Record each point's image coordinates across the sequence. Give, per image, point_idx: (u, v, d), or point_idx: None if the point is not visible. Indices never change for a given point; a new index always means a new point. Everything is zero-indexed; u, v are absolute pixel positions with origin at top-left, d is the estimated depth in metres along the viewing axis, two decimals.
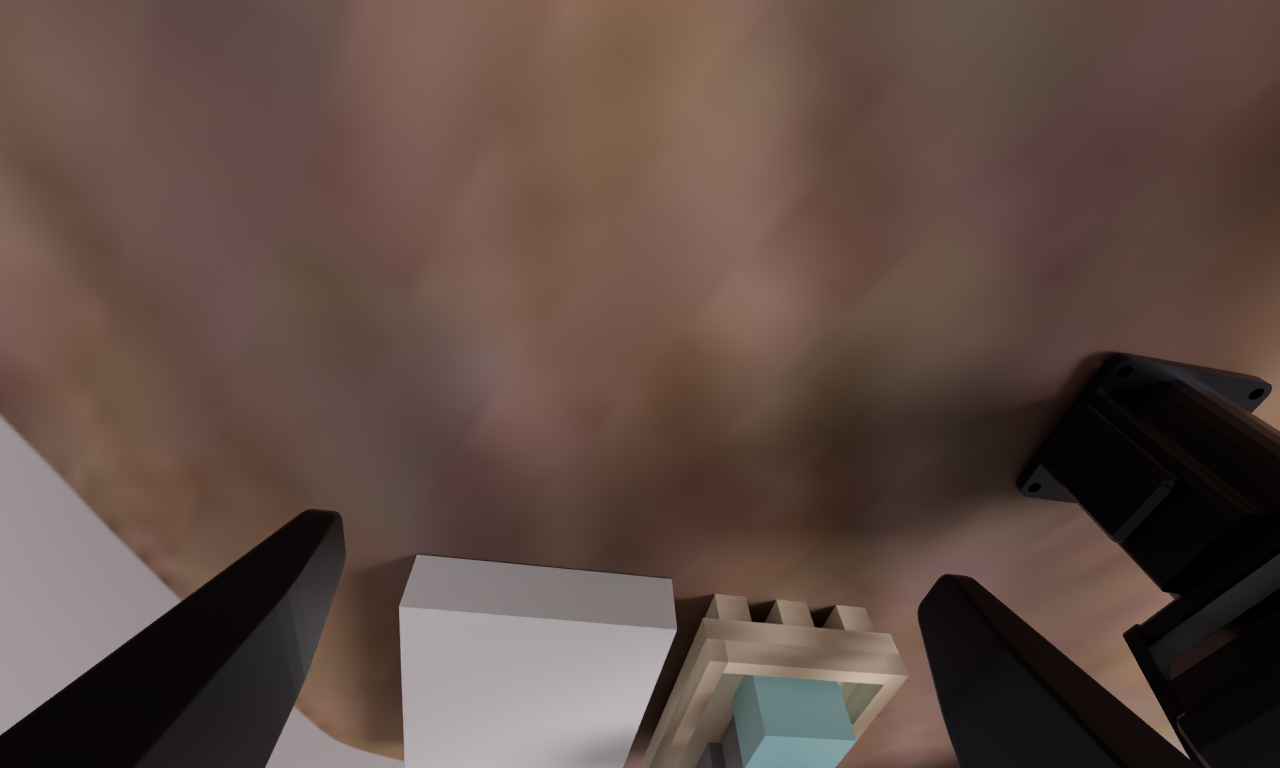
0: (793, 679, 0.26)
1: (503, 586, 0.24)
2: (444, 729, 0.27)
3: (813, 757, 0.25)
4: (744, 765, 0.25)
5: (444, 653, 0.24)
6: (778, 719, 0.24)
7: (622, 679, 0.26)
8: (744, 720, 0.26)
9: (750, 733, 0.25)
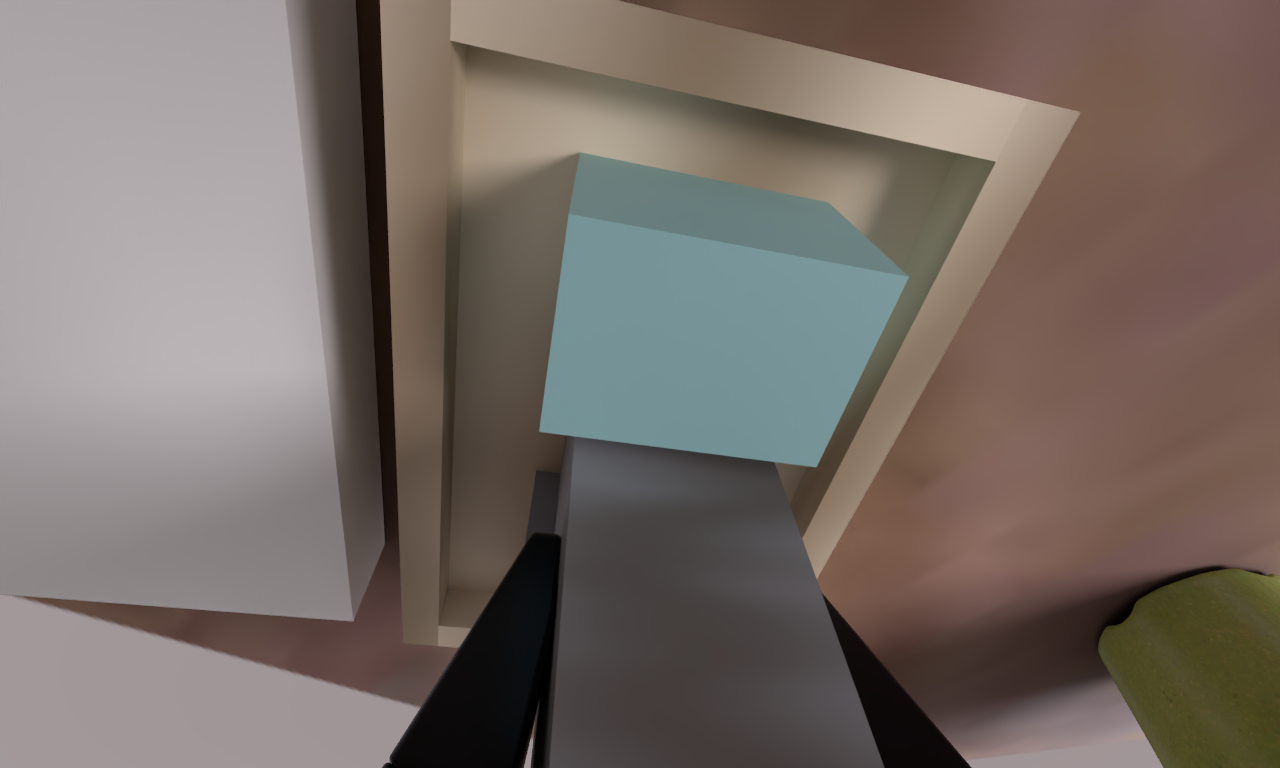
0: (706, 185, 0.09)
1: None
2: None
3: (762, 372, 0.07)
4: (541, 416, 0.08)
5: None
6: (632, 207, 0.07)
7: (191, 158, 0.08)
8: None
9: None
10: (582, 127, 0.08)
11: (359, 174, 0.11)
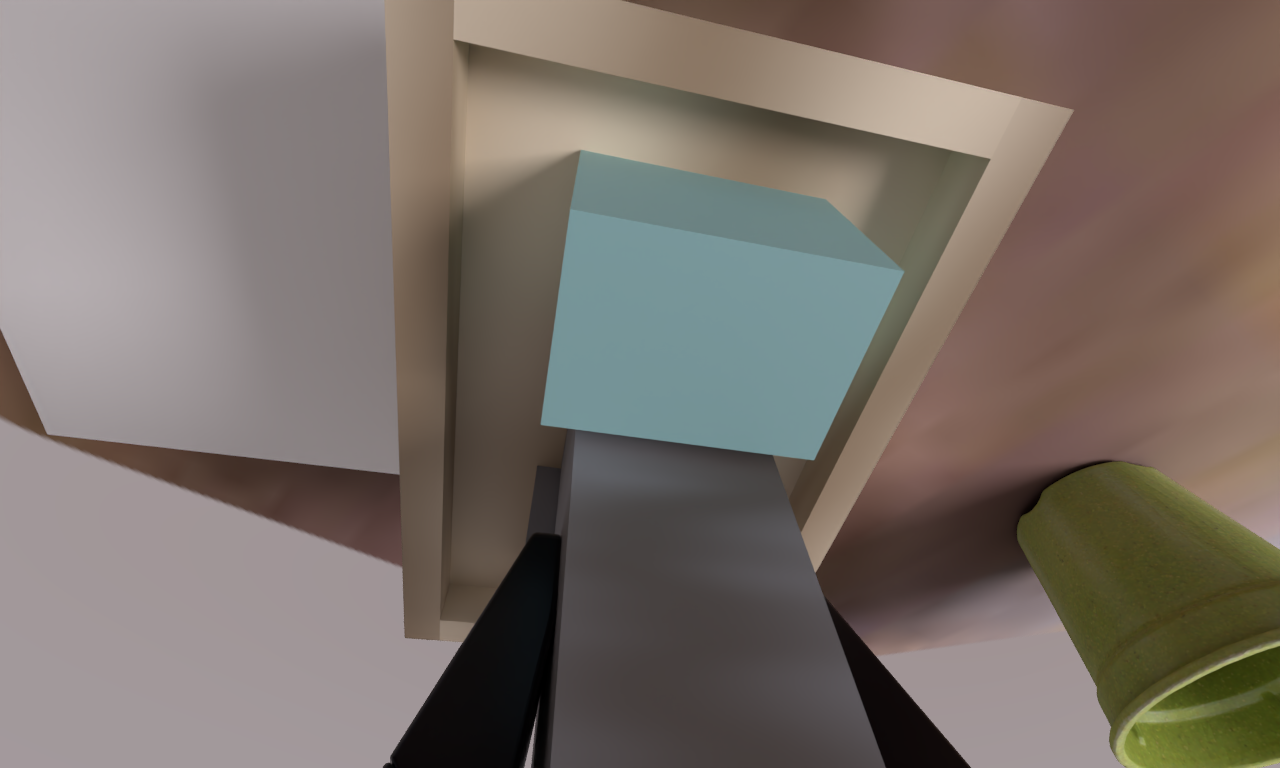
0: (705, 182, 0.09)
1: None
2: (51, 267, 0.15)
3: (760, 365, 0.08)
4: None
5: None
6: (633, 203, 0.07)
7: (352, 108, 0.13)
8: None
9: None
10: (583, 125, 0.09)
11: None
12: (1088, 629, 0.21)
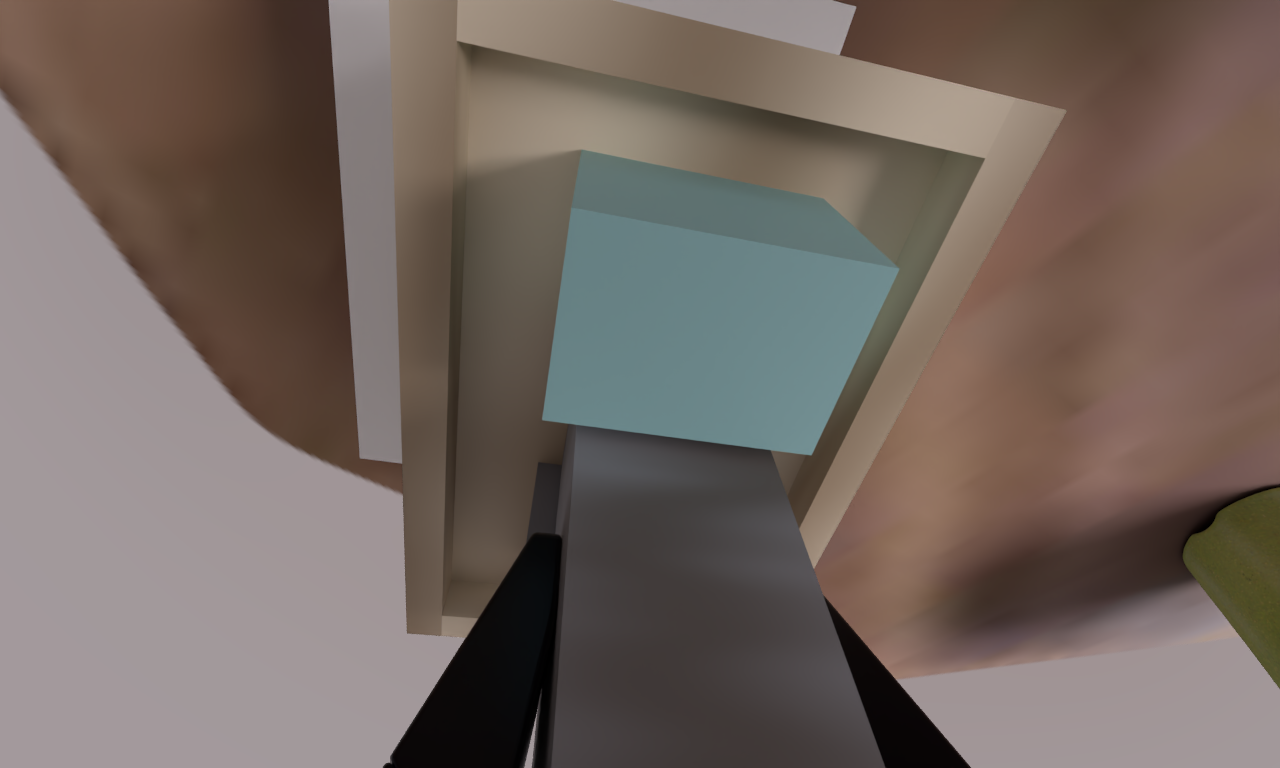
0: (704, 182, 0.09)
1: None
2: None
3: (758, 362, 0.08)
4: (544, 405, 0.08)
5: None
6: (633, 202, 0.07)
7: None
8: None
9: None
10: (584, 125, 0.09)
11: None
12: None
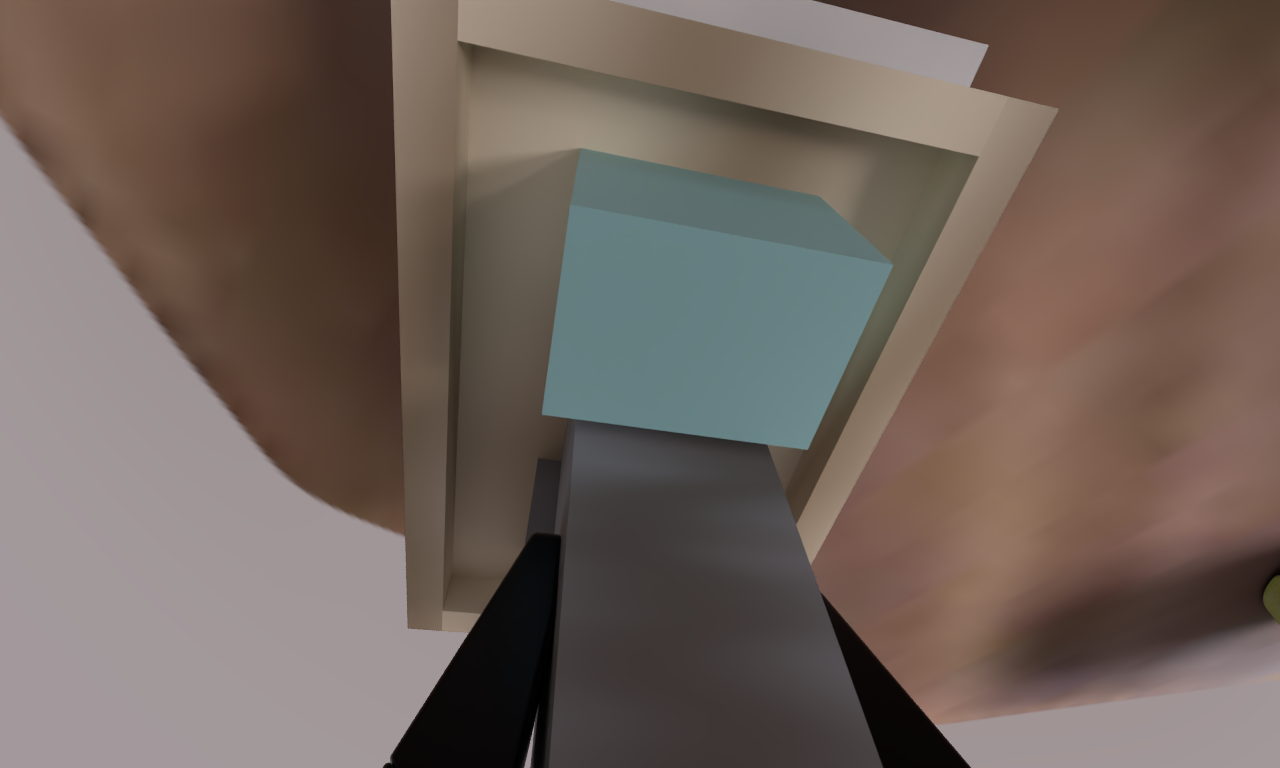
0: (701, 180, 0.09)
1: None
2: None
3: (755, 357, 0.08)
4: None
5: None
6: (631, 199, 0.07)
7: None
8: None
9: None
10: (583, 123, 0.09)
11: None
12: None
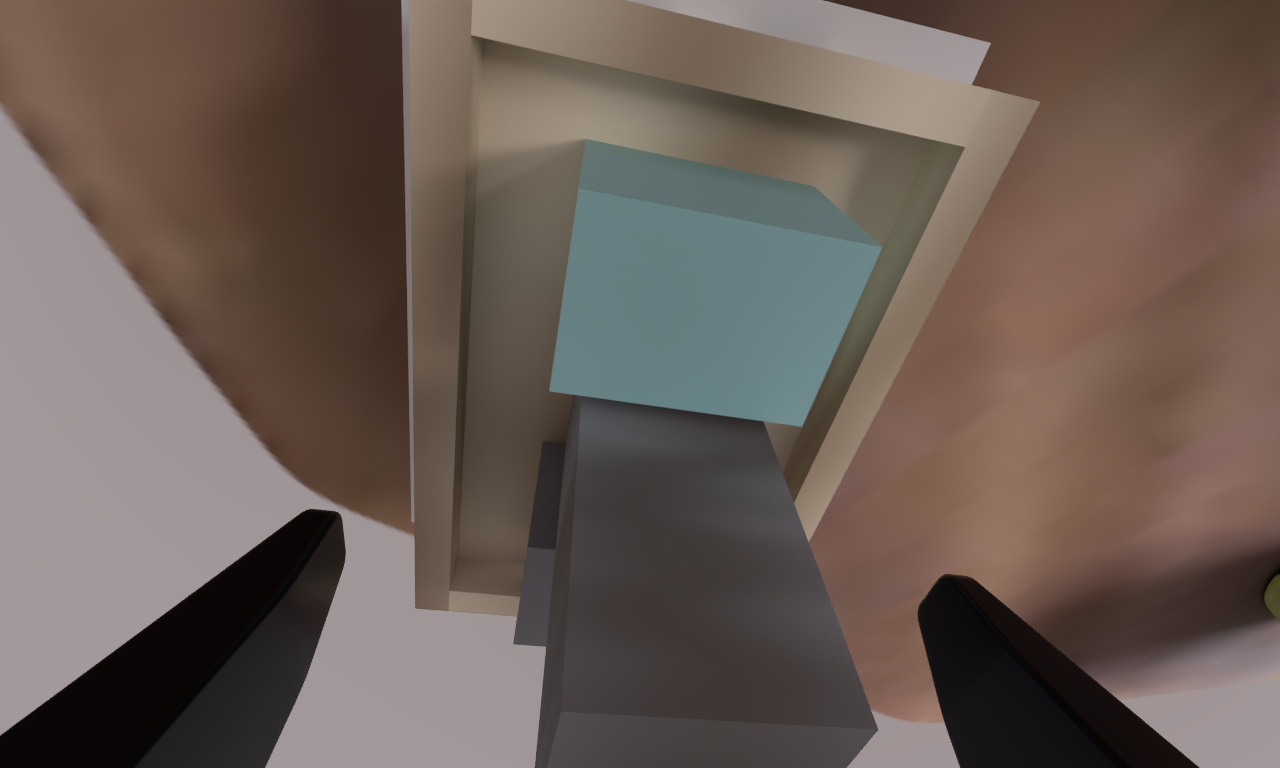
0: (701, 169, 0.09)
1: None
2: None
3: (751, 336, 0.08)
4: None
5: None
6: (635, 185, 0.08)
7: None
8: None
9: None
10: (588, 115, 0.09)
11: None
12: None
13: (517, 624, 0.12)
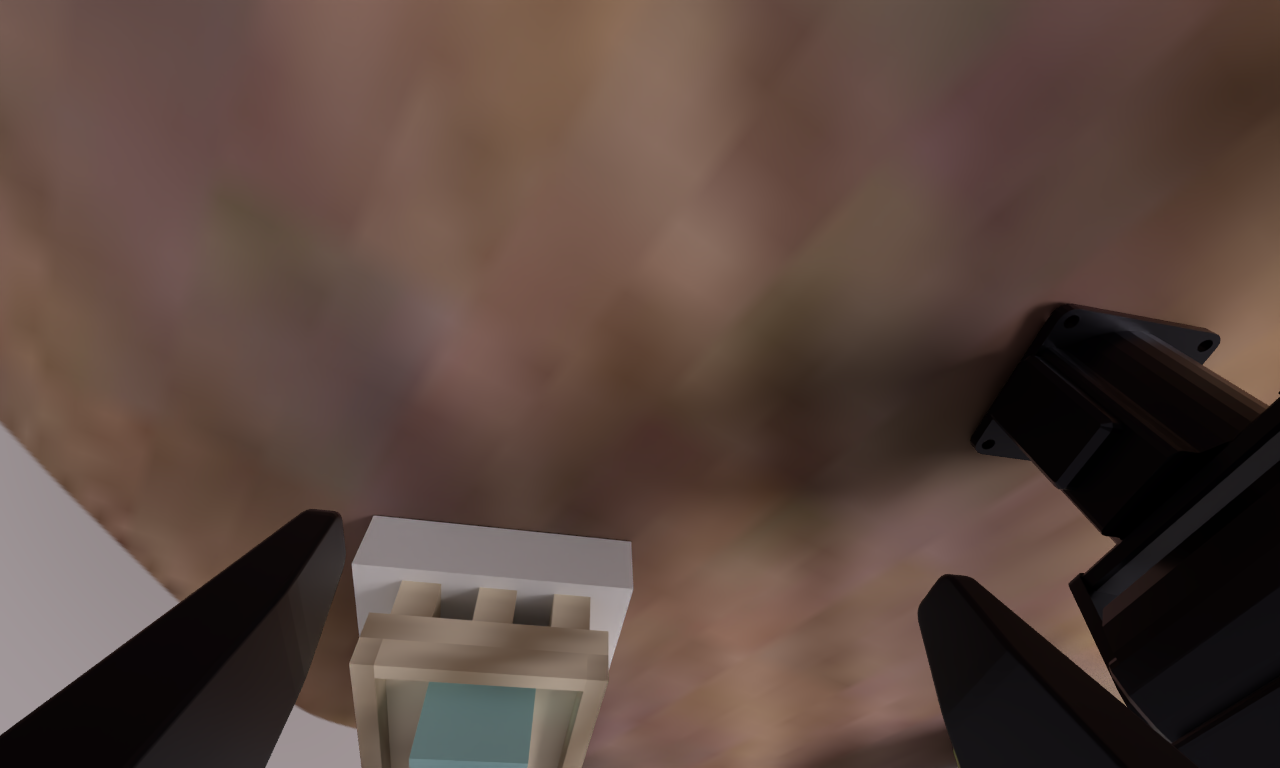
0: (479, 690, 0.22)
1: (458, 546, 0.24)
2: None
3: None
4: None
5: None
6: (435, 738, 0.20)
7: None
8: None
9: None
10: None
11: None
12: None
13: None
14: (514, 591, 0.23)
